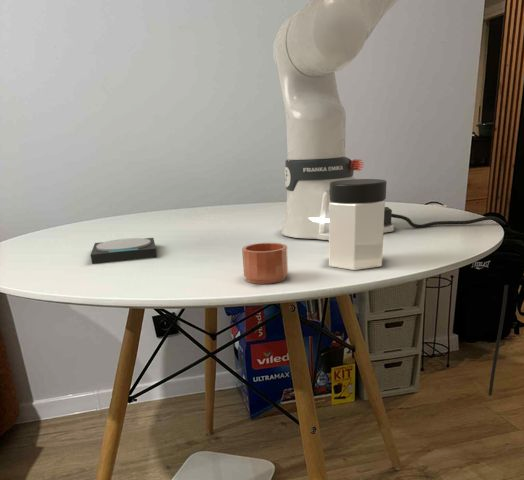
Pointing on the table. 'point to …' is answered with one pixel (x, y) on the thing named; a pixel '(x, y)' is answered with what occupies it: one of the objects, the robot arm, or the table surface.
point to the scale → (123, 250)
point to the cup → (265, 263)
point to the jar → (356, 223)
